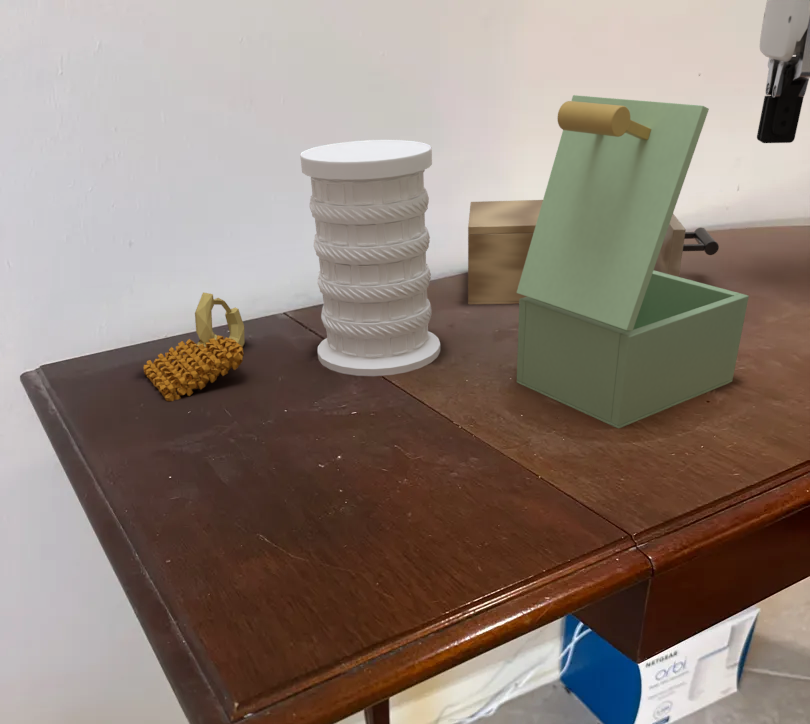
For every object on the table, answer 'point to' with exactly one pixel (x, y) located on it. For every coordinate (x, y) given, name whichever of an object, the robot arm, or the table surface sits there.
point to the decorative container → (372, 255)
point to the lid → (609, 204)
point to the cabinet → (499, 248)
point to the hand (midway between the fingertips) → (774, 141)
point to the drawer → (681, 246)
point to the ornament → (199, 354)
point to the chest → (633, 351)
